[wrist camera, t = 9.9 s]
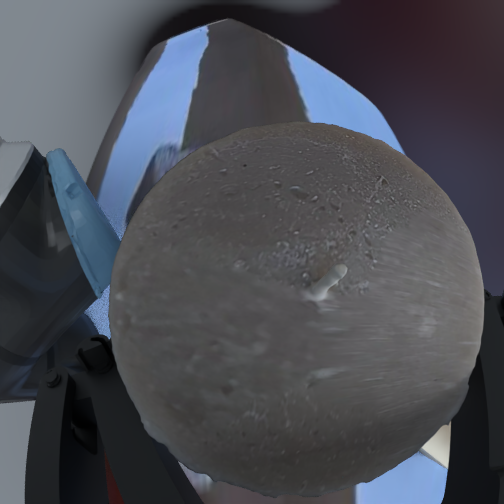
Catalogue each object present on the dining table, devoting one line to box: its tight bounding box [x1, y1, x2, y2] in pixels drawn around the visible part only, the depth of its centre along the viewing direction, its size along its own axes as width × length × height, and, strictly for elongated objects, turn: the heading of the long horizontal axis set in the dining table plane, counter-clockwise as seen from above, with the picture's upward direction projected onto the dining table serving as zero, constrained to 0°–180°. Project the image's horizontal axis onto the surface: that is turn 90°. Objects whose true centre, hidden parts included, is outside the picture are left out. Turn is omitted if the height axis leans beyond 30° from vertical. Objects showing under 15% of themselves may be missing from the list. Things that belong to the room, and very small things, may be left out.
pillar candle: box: [108, 122, 484, 498], centre depth 12 cm, size 10×10×15 cm
